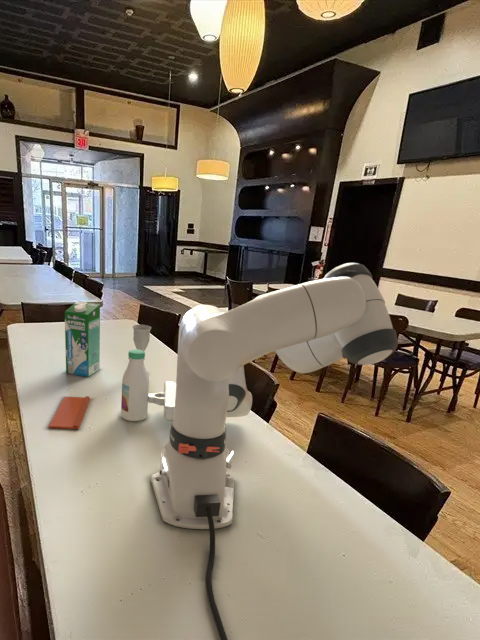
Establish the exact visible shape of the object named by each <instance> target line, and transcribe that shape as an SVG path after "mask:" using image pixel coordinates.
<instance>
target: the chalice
mask: <svg viewBox="0 0 480 640" xmlns="http://www.w3.org/2000/svg"><path fill="white" fill-rule="evenodd" d="M132 329H133V336H132V337H133V339H132V341H133V343H134V346H135V348H136V349H135V350H142V351H144V352H146V349H147V347H148V346H149V343H150V339H151V338H150V336H151V331H152V326H150V325H147V324H134V325H132Z"/></svg>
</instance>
